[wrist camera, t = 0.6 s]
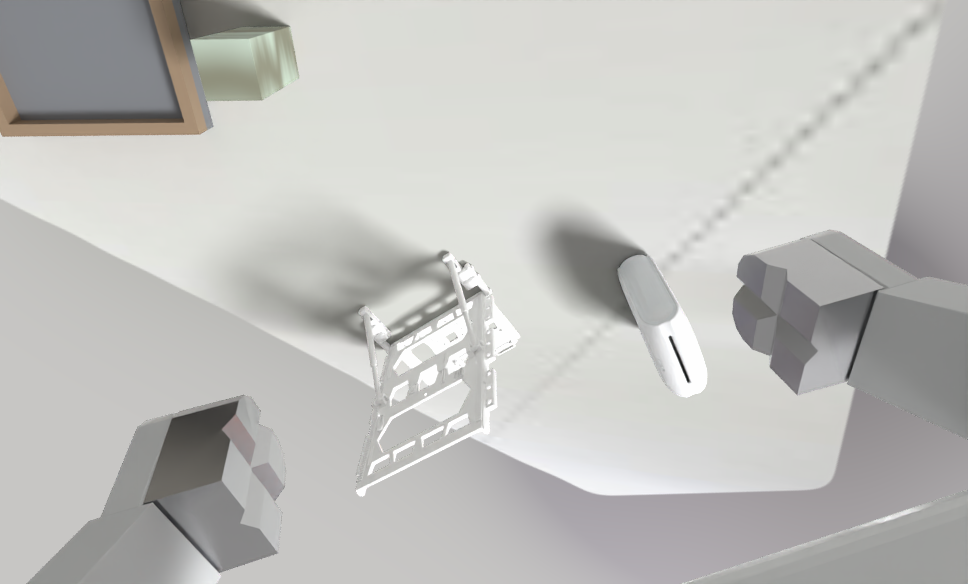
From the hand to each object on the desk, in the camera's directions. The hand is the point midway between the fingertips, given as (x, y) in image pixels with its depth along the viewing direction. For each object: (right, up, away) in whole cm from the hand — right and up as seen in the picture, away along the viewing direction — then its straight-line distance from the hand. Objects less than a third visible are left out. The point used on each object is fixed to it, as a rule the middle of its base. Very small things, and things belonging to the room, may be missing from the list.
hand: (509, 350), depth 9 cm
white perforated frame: (-5, -3, +51) cm, 51 cm away
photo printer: (+17, +1, +49) cm, 52 cm away
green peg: (-18, +21, +36) cm, 46 cm away
